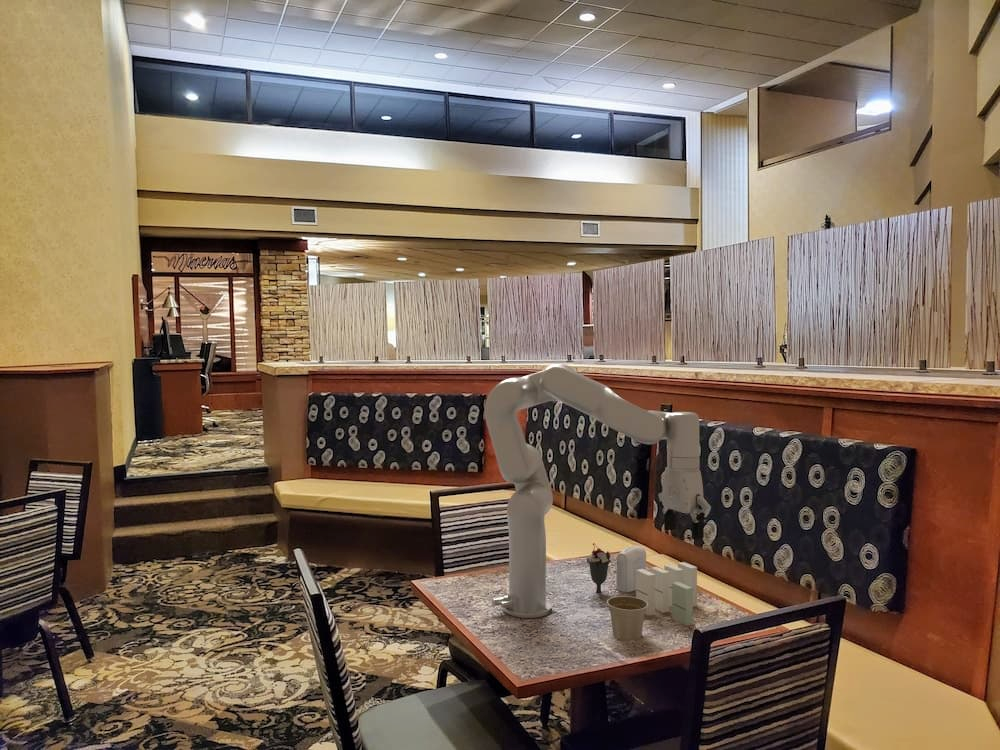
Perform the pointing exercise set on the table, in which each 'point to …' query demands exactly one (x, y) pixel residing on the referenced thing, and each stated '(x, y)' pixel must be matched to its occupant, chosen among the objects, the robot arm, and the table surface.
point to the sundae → (599, 567)
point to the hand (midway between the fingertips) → (683, 534)
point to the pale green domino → (682, 603)
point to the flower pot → (627, 616)
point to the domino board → (666, 613)
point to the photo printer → (629, 567)
